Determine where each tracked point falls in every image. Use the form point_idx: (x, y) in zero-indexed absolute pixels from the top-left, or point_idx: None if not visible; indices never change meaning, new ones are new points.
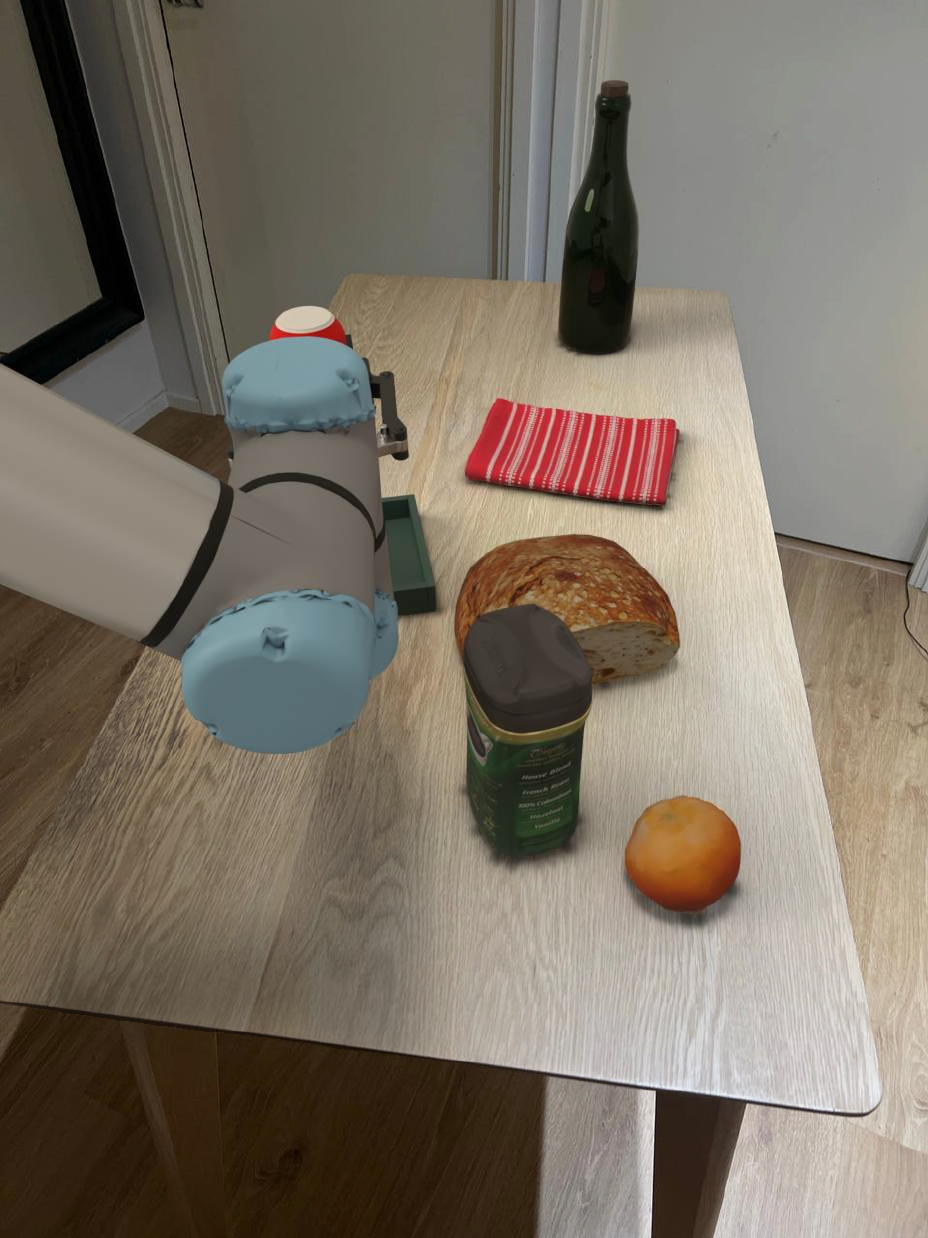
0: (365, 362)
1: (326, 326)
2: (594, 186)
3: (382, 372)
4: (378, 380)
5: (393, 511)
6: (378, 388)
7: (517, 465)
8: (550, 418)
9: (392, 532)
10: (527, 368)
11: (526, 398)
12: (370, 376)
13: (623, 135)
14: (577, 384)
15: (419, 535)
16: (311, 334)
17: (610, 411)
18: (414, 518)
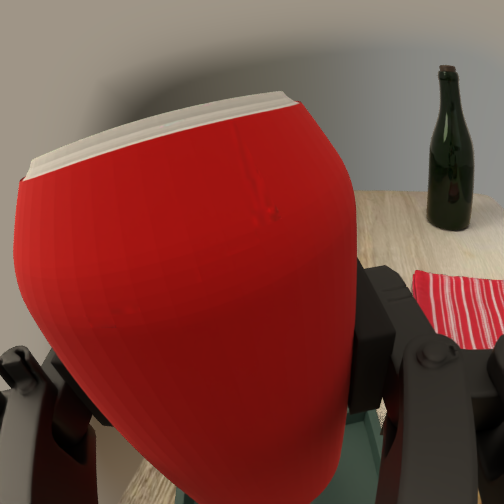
0: (394, 285)
1: (254, 113)
2: (448, 121)
3: (501, 342)
4: (484, 377)
5: (347, 419)
6: (481, 409)
7: (457, 341)
8: (460, 285)
9: (346, 446)
10: (418, 242)
11: (429, 267)
12: (465, 371)
13: (459, 93)
14: (457, 253)
15: None
16: (123, 163)
17: (489, 274)
18: (378, 441)
